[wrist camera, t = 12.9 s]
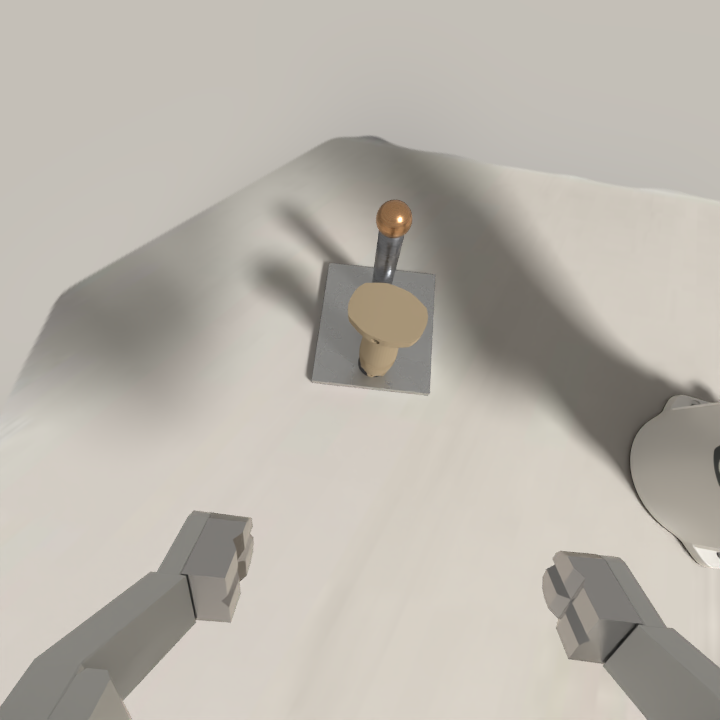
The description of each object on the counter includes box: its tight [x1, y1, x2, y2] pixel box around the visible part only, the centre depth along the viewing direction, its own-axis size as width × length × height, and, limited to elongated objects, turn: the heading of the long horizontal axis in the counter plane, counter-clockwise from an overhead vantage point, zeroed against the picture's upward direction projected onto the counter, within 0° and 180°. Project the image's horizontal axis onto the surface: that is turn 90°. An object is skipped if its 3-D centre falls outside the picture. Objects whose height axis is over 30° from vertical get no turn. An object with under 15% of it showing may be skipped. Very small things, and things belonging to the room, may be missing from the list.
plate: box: [312, 263, 435, 396], centre depth 45 cm, size 14×16×1 cm
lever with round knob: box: [372, 200, 412, 285], centre depth 38 cm, size 3×3×16 cm
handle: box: [348, 283, 428, 378], centre depth 35 cm, size 5×6×15 cm
